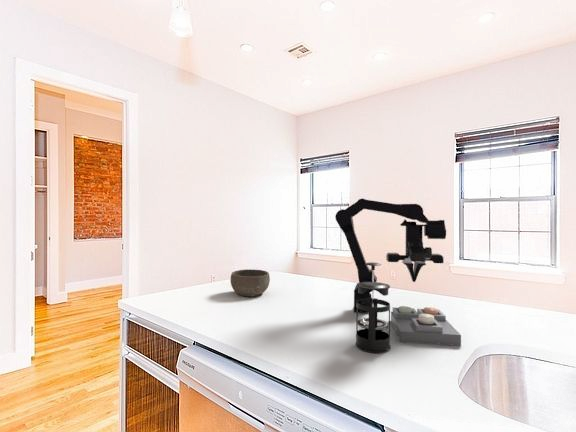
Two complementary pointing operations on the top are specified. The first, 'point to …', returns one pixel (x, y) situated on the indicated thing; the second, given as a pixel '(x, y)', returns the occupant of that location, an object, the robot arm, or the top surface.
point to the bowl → (250, 282)
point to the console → (424, 328)
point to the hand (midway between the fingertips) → (413, 281)
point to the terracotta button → (430, 311)
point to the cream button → (426, 318)
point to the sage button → (404, 309)
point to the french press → (372, 318)
